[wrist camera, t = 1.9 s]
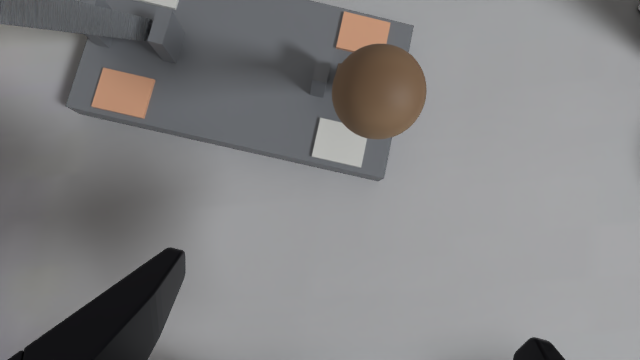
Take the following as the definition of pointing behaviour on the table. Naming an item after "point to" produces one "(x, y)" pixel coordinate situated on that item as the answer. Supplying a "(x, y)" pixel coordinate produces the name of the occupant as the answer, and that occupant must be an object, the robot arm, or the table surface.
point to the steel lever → (74, 18)
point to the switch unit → (238, 77)
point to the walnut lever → (378, 91)
